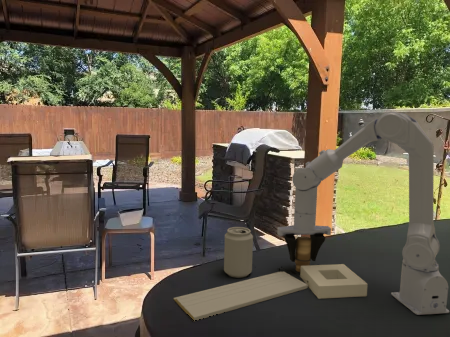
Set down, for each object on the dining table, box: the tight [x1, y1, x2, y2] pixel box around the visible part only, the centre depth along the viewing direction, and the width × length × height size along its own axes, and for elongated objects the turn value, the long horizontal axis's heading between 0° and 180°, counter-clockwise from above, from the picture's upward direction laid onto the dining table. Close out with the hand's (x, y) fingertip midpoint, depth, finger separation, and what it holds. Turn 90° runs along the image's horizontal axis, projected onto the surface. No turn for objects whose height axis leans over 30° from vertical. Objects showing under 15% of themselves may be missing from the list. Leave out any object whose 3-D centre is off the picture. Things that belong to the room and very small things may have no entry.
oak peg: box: [294, 235, 312, 273], centre depth 99 cm, size 4×4×9 cm
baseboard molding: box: [173, 267, 309, 322], centre depth 86 cm, size 31×3×12 cm
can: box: [223, 226, 254, 279], centre depth 96 cm, size 8×8×12 cm
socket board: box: [299, 263, 369, 300], centre depth 91 cm, size 12×12×3 cm
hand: (302, 260), depth 100 cm, fingers open, 5 cm apart
